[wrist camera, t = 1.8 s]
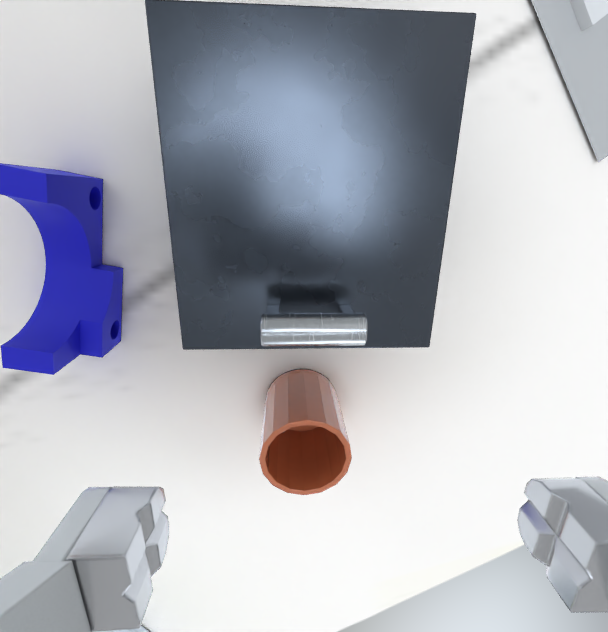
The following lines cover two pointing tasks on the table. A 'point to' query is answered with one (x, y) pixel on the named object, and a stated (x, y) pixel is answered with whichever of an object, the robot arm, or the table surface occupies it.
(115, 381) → the table surface
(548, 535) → the robot arm
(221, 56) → the lid
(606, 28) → the architectural model
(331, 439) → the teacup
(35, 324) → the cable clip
